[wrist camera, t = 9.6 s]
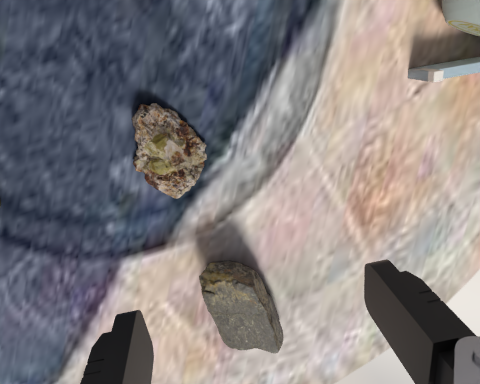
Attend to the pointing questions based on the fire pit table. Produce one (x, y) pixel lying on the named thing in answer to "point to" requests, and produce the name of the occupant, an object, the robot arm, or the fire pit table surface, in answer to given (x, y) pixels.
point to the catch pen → (445, 70)
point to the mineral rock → (167, 150)
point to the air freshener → (463, 15)
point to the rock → (241, 307)
